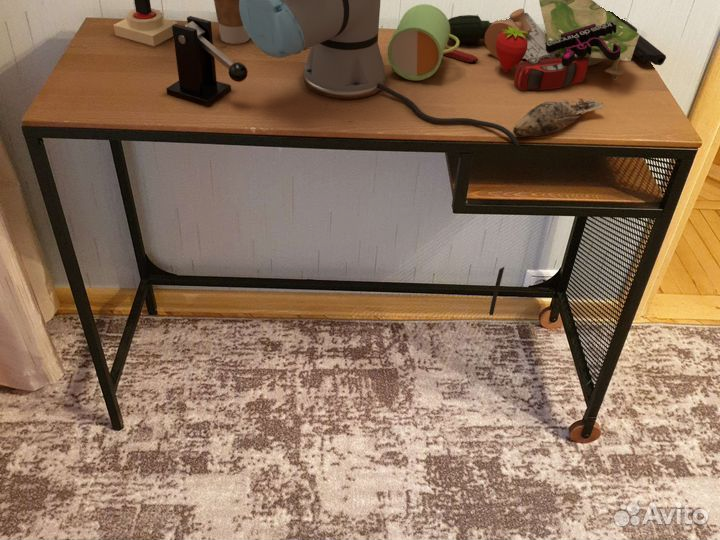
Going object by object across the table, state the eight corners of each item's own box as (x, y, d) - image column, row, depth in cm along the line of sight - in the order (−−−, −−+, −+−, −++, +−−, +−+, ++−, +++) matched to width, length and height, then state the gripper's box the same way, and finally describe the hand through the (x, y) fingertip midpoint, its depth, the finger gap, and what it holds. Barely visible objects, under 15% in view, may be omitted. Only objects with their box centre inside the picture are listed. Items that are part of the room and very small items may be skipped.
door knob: (499, 6, 149) (515, 41, 153) (478, 29, 144) (494, 64, 147) (533, -6, 143) (548, 30, 147) (511, 18, 138) (528, 54, 142)
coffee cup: (207, 43, 145) (200, -34, 136) (223, 27, 152) (217, -47, 142) (247, 49, 144) (242, -28, 134) (261, 32, 150) (258, -42, 141)
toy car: (516, 54, 135) (527, 66, 131) (586, 53, 139) (599, 65, 135) (508, 80, 138) (519, 94, 135) (577, 79, 142) (589, 92, 139)
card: (551, -15, 154) (551, -18, 153) (671, 1, 141) (671, -3, 140) (502, 47, 144) (501, 43, 143) (625, 70, 131) (626, 66, 131)
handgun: (696, 73, 150) (640, 66, 144) (621, 17, 170) (569, 8, 164) (705, 57, 148) (648, 49, 142) (628, 2, 168) (576, -7, 162)
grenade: (442, 43, 152) (497, 45, 154) (448, 42, 146) (506, 43, 148) (443, 15, 151) (499, 17, 152) (450, 13, 145) (508, 14, 146)
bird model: (503, 106, 120) (497, 132, 123) (530, 121, 117) (523, 148, 120) (585, 80, 130) (577, 105, 134) (611, 93, 127) (603, 119, 130)
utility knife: (474, 64, 143) (478, 61, 145) (475, 59, 143) (479, 56, 144) (422, 49, 148) (427, 46, 149) (423, 44, 147) (428, 41, 148)
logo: (611, 18, 137) (635, 46, 130) (610, 25, 138) (634, 54, 132) (543, 40, 137) (564, 69, 131) (543, 47, 138) (564, 76, 132)
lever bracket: (231, 91, 131) (226, 22, 122) (208, 107, 126) (201, 36, 117) (190, 79, 134) (182, 10, 125) (166, 94, 129) (156, 24, 120)
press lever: (247, 81, 125) (253, 68, 123) (236, 88, 123) (243, 75, 121) (189, 32, 125) (195, 17, 122) (178, 38, 123) (183, 24, 120)
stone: (572, 51, 143) (524, 62, 142) (570, 66, 146) (523, 77, 145) (527, 4, 158) (484, 14, 157) (526, 19, 161) (484, 28, 160)
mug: (399, 55, 146) (387, 80, 137) (399, 3, 140) (387, 26, 131) (461, 58, 144) (454, 84, 135) (464, 6, 137) (456, 29, 128)
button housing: (179, 32, 149) (177, 13, 146) (154, 46, 143) (151, 27, 141) (141, 22, 152) (138, 3, 149) (115, 35, 146) (111, 16, 144)
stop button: (159, 20, 147) (158, 12, 145) (147, 27, 144) (145, 18, 143) (144, 16, 148) (143, 8, 147) (131, 23, 145) (129, 14, 144)
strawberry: (515, 62, 145) (524, 13, 138) (526, 79, 139) (537, 29, 133) (486, 62, 144) (495, 13, 137) (497, 80, 138) (506, 29, 132)
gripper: (131, -129, 135) (150, -3, 150) (81, -114, 126) (106, 18, 141) (164, -122, 132) (179, 5, 148) (115, -107, 123) (137, 27, 139)
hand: (143, 11), depth 145 cm, fingers closed
